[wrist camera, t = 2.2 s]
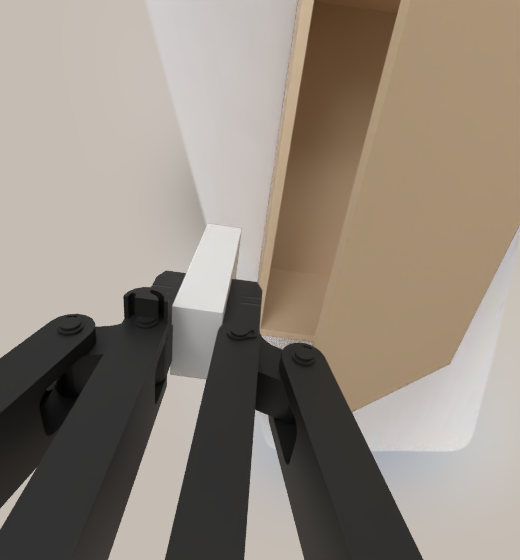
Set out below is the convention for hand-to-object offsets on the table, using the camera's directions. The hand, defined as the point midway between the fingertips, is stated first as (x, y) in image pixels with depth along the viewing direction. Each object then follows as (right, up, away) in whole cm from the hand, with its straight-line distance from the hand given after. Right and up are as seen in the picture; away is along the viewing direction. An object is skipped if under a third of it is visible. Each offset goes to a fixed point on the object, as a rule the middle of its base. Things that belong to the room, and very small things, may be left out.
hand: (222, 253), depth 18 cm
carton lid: (+12, +1, +4) cm, 12 cm away
